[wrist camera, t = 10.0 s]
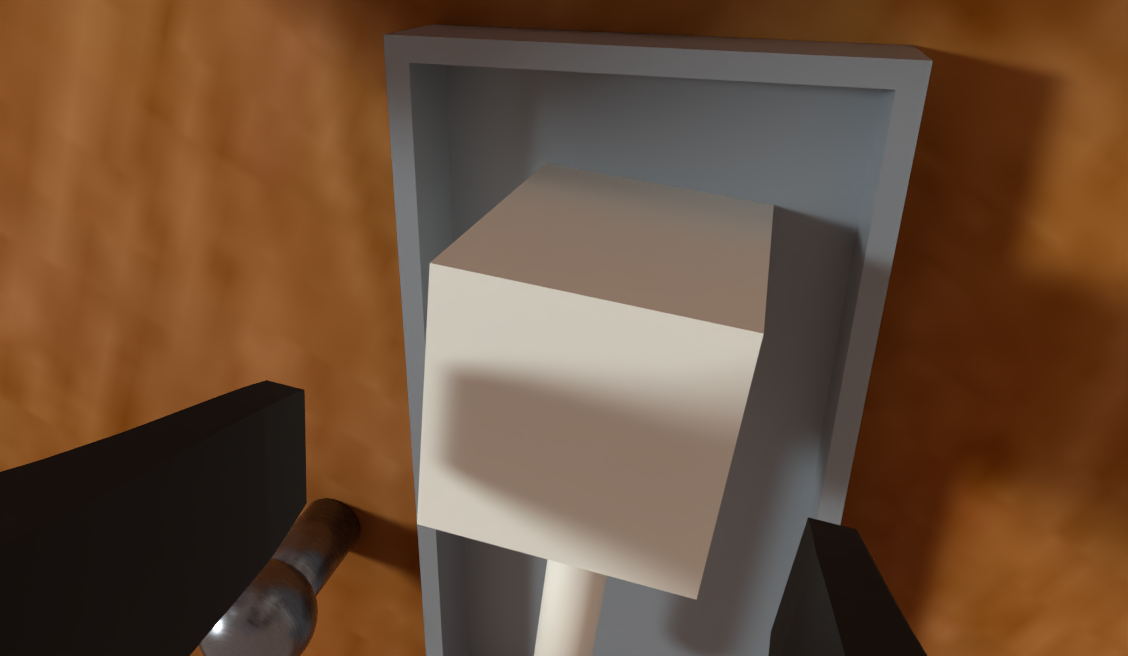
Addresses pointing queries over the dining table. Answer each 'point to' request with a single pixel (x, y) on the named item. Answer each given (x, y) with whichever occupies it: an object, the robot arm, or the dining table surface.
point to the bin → (691, 161)
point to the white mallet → (592, 382)
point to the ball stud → (287, 588)
